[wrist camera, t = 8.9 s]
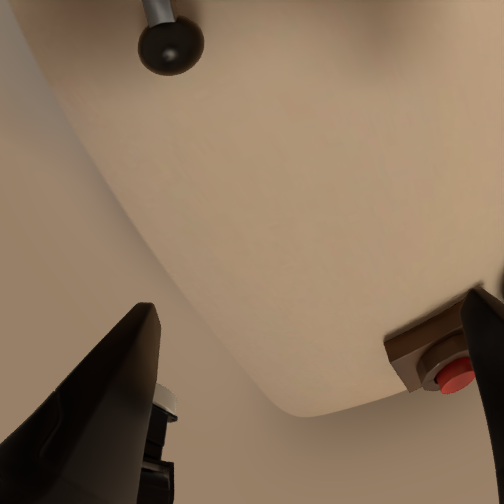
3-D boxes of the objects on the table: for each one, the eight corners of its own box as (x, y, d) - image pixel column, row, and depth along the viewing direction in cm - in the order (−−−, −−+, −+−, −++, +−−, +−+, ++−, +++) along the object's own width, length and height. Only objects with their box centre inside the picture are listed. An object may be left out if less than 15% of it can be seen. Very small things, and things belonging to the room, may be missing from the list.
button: (438, 383, 25) (443, 398, 24) (432, 369, 23) (438, 385, 22) (470, 366, 24) (476, 380, 22) (468, 350, 22) (475, 366, 21)
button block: (404, 376, 30) (414, 407, 27) (383, 343, 26) (394, 380, 23) (484, 333, 27) (499, 362, 23) (479, 290, 23) (499, 323, 20)
